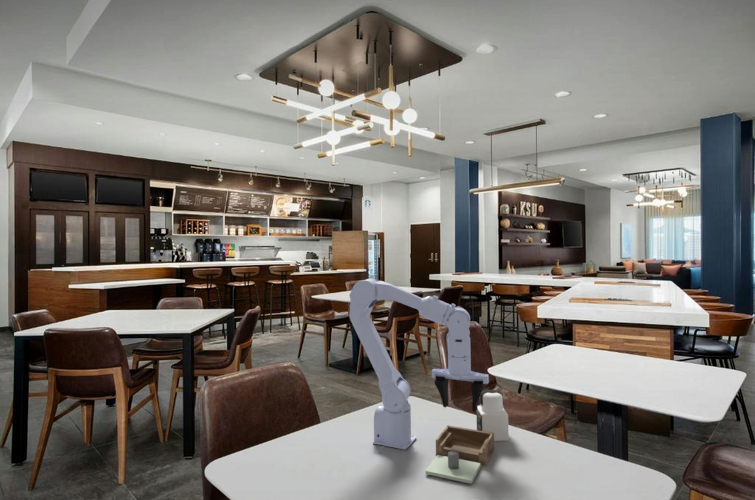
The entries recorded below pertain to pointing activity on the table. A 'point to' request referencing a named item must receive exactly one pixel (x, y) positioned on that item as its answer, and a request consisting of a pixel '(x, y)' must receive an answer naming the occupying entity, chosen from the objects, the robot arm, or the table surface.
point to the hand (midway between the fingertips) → (460, 408)
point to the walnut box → (466, 444)
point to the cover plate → (453, 474)
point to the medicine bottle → (492, 415)
